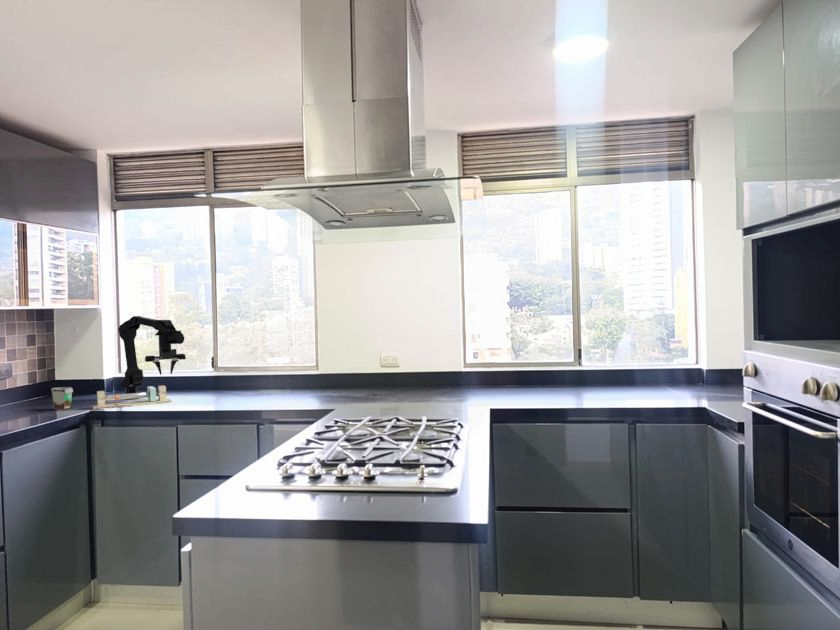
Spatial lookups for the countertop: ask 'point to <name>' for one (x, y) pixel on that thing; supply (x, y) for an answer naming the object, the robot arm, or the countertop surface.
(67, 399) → the food container
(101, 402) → the beige cradle stand
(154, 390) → the collar
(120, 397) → the pipe
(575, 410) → the countertop surface
